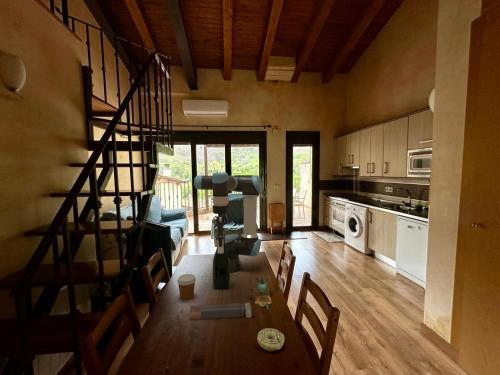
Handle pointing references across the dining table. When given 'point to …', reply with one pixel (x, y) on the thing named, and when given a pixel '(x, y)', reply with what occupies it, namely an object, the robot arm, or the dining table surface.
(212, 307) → the tong arm far
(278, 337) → the decorated donut
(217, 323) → the dining table surface
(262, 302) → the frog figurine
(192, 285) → the disposable coffee cup
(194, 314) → the tong arm near
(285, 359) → the dining table surface
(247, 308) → the tong hinge cap
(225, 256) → the beer bottle
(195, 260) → the dining table surface
